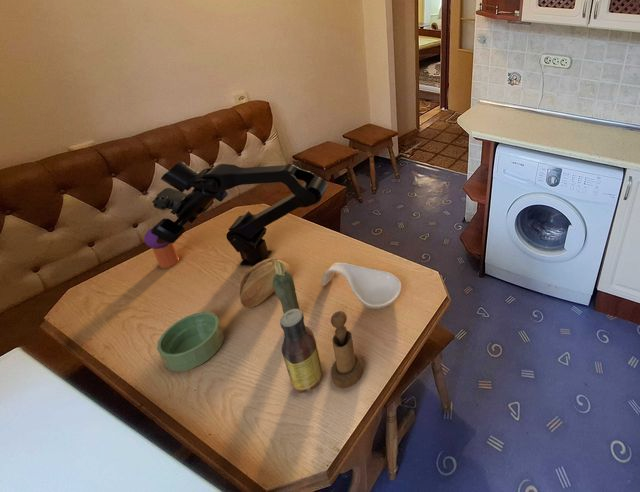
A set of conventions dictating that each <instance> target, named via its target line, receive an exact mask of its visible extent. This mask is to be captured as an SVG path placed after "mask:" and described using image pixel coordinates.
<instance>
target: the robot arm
mask: <svg viewBox="0 0 640 492" xmlns="http://www.w3.org/2000/svg"><path fill="white" fill-rule="evenodd" d="M160 180H161V181H162V182H164V183H166V184H167V185H169V186H171V187H166V188H164V189H163V190H161V191H160V192H158V193H157V194H156V197H154V199H153V200H152V204H153V205H152V206H153V207H154V208H155V209H158V210H162V211H165V210H170V212H169V213H170V214H172V215H176V217H177V219H176V220H175V221H174V220H172V219H171V218H162V219H161V220H160V221H158V222H157V223H156V224H155V225H154V226H153V227H151V228H152V230H151V233H152V234H154V235H156V236H158V238H157V243H158V244H163V243H166V242H169V243H173V244H175V242H177V240H178V239H179V238H181V236H182V235H184V233H185V232H186V229H185V227H184V226H185V225H186V224H187V223H190V224H193V223H194V222H195V221H196V220H197V219H198V218H199V217H200V216H201V215H203V214H204V213H205V212H206V211H208V209H209V208H210V207H211V206H212V205H214V203H215V202H214V200H217V201H218V202H223V200H225V199H226V197H227V196H228V195H229V194H228V190H231V189H234V188H235V187H239V186H246V185H247V186H248V185H260V184H261V185H262V184H275V183H282V184H284V186H286V187H287V188H288V189H289V190H290V192H291V194H290V195H288V196H286V197H284V198H283V199H281V200H279V201H277V202H275V203H274V204H272V205H271V206H268V207H267V208H265V209H263V210H262V211H260V212H257V213H256V214H254V213H253V214H252V212H250V211H249V210H248V211H247V212H245V214H242V215H239V216H238V217H237V218H236V219H235V220H234V222H233V223H232V224H231V225H230V226H229V228H228V231H227V233H225V234H226V239H227V241H228V243H229V244H230V245H231V247H233V249H234V250H235V251H236V252H237V253H239V254H240V259H241V262H240V263H239V264H240V266H249V267H253V266H255V265H256V264H257V263H259V262H261V261H263V260H266V259H269V256H270V255H271V254H272V250H270V249H268V246H267V242H266V238H264V236H266V234H267V226H269V225H270V224H272V223H274V222H276V221H278V220H280V219H281V218H284V217H285V216H287V215H288V214H291V213H292V212H294V211H296V210H297V209H300V208H309V207H311V206H315V205H317V204H318V203H320V202H321V200H322V198H323V196H324V194H325V193H326V190H327V188H328V184H327V181H326V180H325V179H324V178H322V177H320V176H317V175H316V174H315V173H314V172H312V171H309V170H306V169H303V168H299V167H298V166H297V165H295V164H293V163H286V164H282V165H281V164H280V165H268V166H265V165H264V166H252V167H251V166H250V167H241V166H238V165H236V164H229V163H219V164H217V165H215V166H213V167H206V168H203V169H202V170H200V171H199V172H198V171H197V170H195V169H193V168H191V167H190V166H188V165H187V164H186V163H185V162H183V161H182V160H181V161H178V162H177V163H175V164H174V166H172V168H170V169H169V170H167V172H165V173H164V174H163V175H162V176H161V178H160ZM300 181H302V182H304V183H301V182H300ZM172 187H173V188H172ZM192 188H193V189H192ZM191 189H192V190H191ZM185 191H187V192H188V191H190V192H188V193H184V192H185Z"/></svg>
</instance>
